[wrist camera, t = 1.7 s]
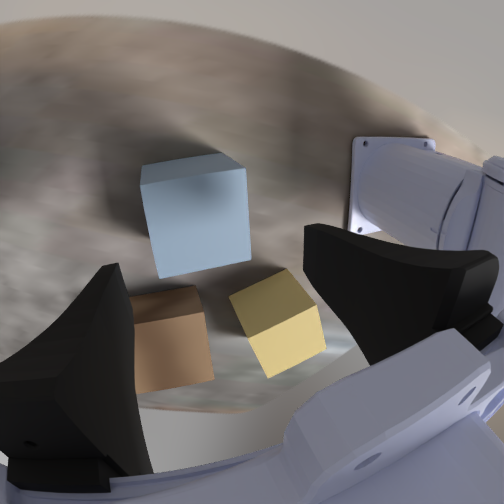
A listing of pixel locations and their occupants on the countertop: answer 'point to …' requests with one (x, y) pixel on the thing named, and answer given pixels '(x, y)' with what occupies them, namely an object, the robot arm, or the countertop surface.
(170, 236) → the blue cube
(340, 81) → the countertop surface
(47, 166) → the countertop surface
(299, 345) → the mustard cube
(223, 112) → the countertop surface
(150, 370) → the walnut block
